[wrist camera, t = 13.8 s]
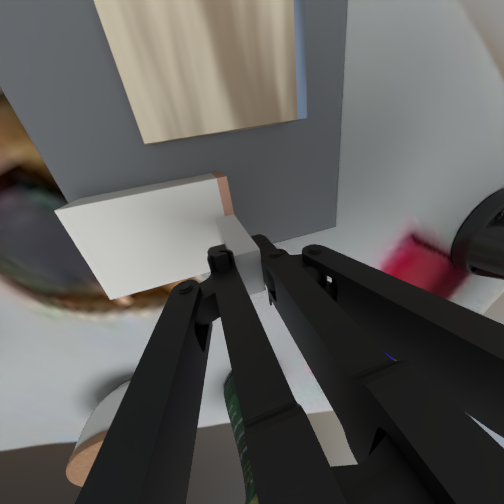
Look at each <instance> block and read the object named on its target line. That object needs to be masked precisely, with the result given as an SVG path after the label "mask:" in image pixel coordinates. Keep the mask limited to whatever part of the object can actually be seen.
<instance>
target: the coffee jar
mask: <svg viewBox="0 0 504 504" xmlns="http://www.w3.org/2000/svg"><path fill="white" fill-rule="evenodd" d="M224 397H225V402H226V407H227V411H228V415H229V418H230V422H231V426H232V429H233V433H234V436H235V441H236V445H237V449H238V453H239V457H240V461H241V466H242V471H243V477H244V483H245V490H246V503H245V504H259V503H258V498H257V494H256V489H255V484H254V479H253V474H252V470H251V465H250V460H249V455H248V451H247V445H246V440H245V435H244V424H243V419H242V414H241V409H240V405H239V400H238V395H237V391H236V386H235V381H234V377H233V374H232V376H231V377H230V378H229V379H228V381H227V383H226V386H225V389H224Z"/></svg>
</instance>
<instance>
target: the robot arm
mask: <svg viewBox="0 0 504 504" xmlns="http://www.w3.org/2000/svg"><path fill="white" fill-rule="evenodd" d="M215 220H216V224H217V228H218V232H219V236H220V240H221V245H217V246H214V247H210V248H209V249H208V251H207V253H208V257H207V261H208V264H209V267H210V271H211V275H210V276H209V278H208V279H206V280H205V281H203V282H201V283H198V282H197V281H195V280H187V281H183V282H181V283H179V284H178V285H176V286H175V287H174V288H173V289H172V291H171V293H170V295H169V298H168V300H167V302H166V304H165V306H164V309H163V311H162V313H161V315H160V317H159V320H158V322H157V324H156V326H155V328H154V331H153V333H152V335H151V337H150V339H149V342H148V344H147V346H146V348H145V350H144V353H143V355H142V357H141V359H140V361H139V364H138V366H137V368H136V370H135V372H134V375H133V377H132V379H131V381H130V383H129V386H128V388H127V390H126V392H125V394H124V397H123V399H122V401H121V403H120V405H119V408H118V410H117V412H116V414H115V416H114V419H113V421H112V423H111V425H110V427H109V430H108V432H107V434H106V436H105V438H104V441H103V443H102V445H101V447H100V449H99V452H98V454H97V456H96V458H95V460H94V463H93V465H92V467H91V469H90V471H89V474H88V476H87V478H86V480H85V482H84V485H83V487H82V489H81V491H80V494H79V496H78V498H77V500H76V502H75V504H186V498H187V492H188V485H189V478H190V471H191V465H192V457H193V452H194V445H195V439H196V432H197V425H198V419H199V412H200V405H201V399H202V392H203V386H204V379H205V372H206V366H207V359H208V352H209V346H210V339H211V332H212V326H213V325H212V321H214V320H216V319H217V318H219V317H221V321H222V326H223V330H224V335H225V340H226V344H227V349H228V354H229V358H230V363H231V368H232V372H233V377H234V381H235V386H236V391H237V395H238V400H239V405H240V409H241V414H242V419H243V424H244V435H245V440H246V445H247V451H248V455H249V460H250V465H251V470H252V474H253V479H254V484H255V489H256V494H257V498H258V503H259V504H504V448H503V447H502V446H500V445H499V444H498V443H497V442H496V441H495V440H494V439H493V438H492V437H491V436H490V435H489V434H488V433H487V432H486V431H485V430H484V429H482V427H480V426H479V425H478V424H477V423H476V422H475V421H474V420H473V419H472V418H471V417H470V416H472V417H473V418H475V419H476V420H477V421H479V422H480V423H482V424H483V425H485V426H486V427H487V428H489V429H490V430H492V431H494V432H495V433H497V434H499V435H500V436H502V437H503V438H504V325H503V324H501V323H498V322H496V321H494V320H492V319H489V318H487V317H485V316H482V315H480V314H478V313H476V312H473V311H471V310H469V309H466V308H464V307H462V306H460V305H457V304H455V303H453V302H450V301H448V300H446V299H444V298H441V297H439V296H437V295H434V294H432V293H430V292H428V291H425V290H423V289H421V288H418V287H416V286H414V285H412V284H409V283H407V282H405V281H402V280H400V279H398V278H396V277H393V276H391V275H389V274H386V273H384V272H382V271H380V270H377V269H375V268H373V267H370V266H368V265H366V264H364V263H361V262H359V261H357V260H354V259H352V258H350V257H347V256H345V255H343V254H341V253H338V252H336V251H334V250H331V249H329V248H327V247H325V246H322V245H316V244H313V245H309V246H306V247H304V248H303V249H302V254H299V255H289V254H288V253H287V252H286V251H285V250H283V249H277V248H276V247H275V246H274V245H273V244H272V243H271V242H270V241H269V240H268V238H267V237H266V236H264V235H261V234H258V235H254V236H250V235H249V234H248V233H247V231H246V230H245V229H244V227H243V226H242V224H241V223H240V222H239V220H238V219H237V218H236V216H235V215H234V214H233V215H228V216H224V217H220V218H216V219H215ZM451 258H452V262H453V264H454V266H455V267H457V268H459V269H461V270H464V271H466V272H468V273H471V274H474V275H480V276H485V277H491V278H496V279H502V280H504V189H502V190H500V191H498V192H496V193H495V194H493V195H492V196H490V197H489V198H488V199H486V200H485V201H484V202H483V203H482V204H481V205H479V206H478V207H477V208H476V210H475V211H474V212H473V213H472V214H471V215H470V216H469V218H468V219H467V220H466V222H465V223H464V225H463V226H462V228H461V229H460V231H459V233H458V235H457V237H456V239H455V242H454V244H453V248H452V253H451ZM327 276H329V277H331V278H332V283H331V282H329V281H327ZM265 284H266V286H267V288H268V295H269V302H270V306H271V305H272V302H273V304H274V305H275V307H276V309H277V311H278V313H279V314H280V316H281V318H282V320H283V321H284V323H285V325H286V327H287V328H288V330H289V332H290V334H291V336H292V337H293V339H294V341H295V343H296V344H297V346H298V348H299V350H300V351H301V353H302V355H303V357H304V359H305V360H306V362H307V364H308V366H309V367H310V369H311V371H312V373H313V374H314V376H315V378H316V380H317V382H318V383H319V385H320V387H321V389H322V390H323V392H324V394H325V396H326V398H327V399H328V401H329V403H330V405H331V406H332V408H333V410H334V412H335V413H336V415H337V417H338V419H339V421H340V423H341V424H342V427H343V429H344V432H345V435H346V439H347V442H348V444H349V447H350V449H351V451H352V453H353V455H354V457H355V459H356V461H357V463H358V464H357V465H347V466H334V467H330V465H329V463H328V461H327V458H326V456H325V454H324V452H323V450H322V448H321V445H320V443H319V441H318V439H317V437H316V435H315V432H314V430H313V428H312V426H311V424H310V421H309V419H308V418H307V415H306V413H305V411H304V410H303V408H302V407H301V405H299V404H298V403H297V402H296V400H295V398H294V396H293V394H292V392H291V390H290V387H289V385H288V383H287V380H286V378H285V376H284V374H283V371H282V369H281V367H280V365H279V362H278V360H277V358H276V356H275V353H274V351H273V349H272V346H271V344H270V342H269V340H268V337H267V335H266V333H265V331H264V328H263V326H262V324H261V321H260V319H259V317H258V315H257V312H256V310H255V308H254V306H253V303H252V301H251V299H250V296H249V295H251V294H255V293H258V292H261V291H264V290H266V288H265ZM387 354H388V355H389V356H390V357H392V358H393V359H394V360H393V359H391V358H390V357H389V356H388V355H387ZM395 360H396V361H395ZM468 414H469V415H470V416H469V415H468Z"/></svg>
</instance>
